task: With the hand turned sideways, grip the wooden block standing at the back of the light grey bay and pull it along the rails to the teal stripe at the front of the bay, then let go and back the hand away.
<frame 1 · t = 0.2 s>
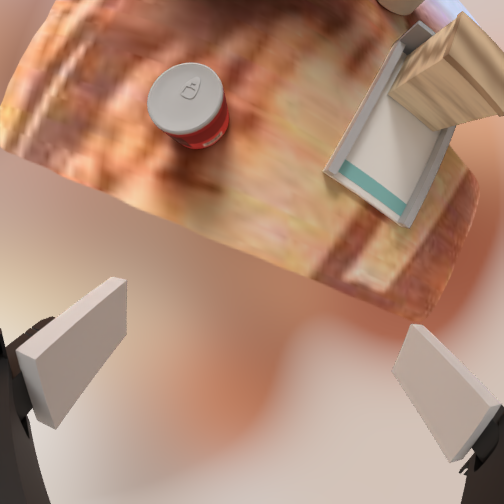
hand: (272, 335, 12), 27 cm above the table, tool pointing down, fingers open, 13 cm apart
travel mug: (392, 0, 32), on the table
bay: (401, 126, 36), on the table
canned food: (200, 122, 36), on the table
wooden block: (449, 77, 26), point 9 cm above the table, slide at 0.0 cm
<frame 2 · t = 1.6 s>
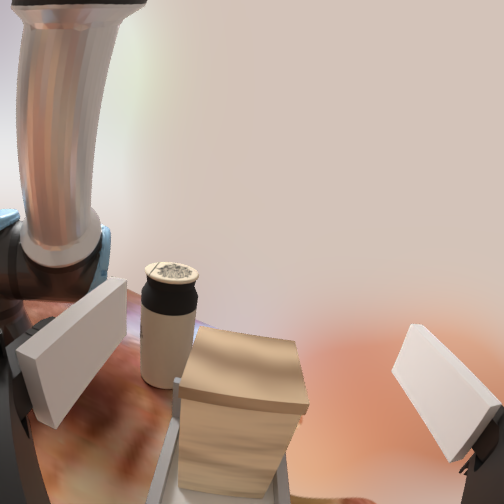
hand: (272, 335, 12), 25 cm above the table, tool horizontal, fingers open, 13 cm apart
travel mug: (164, 375, 43), on the table
wooden block: (232, 423, 25), point 9 cm above the table, slide at 0.0 cm
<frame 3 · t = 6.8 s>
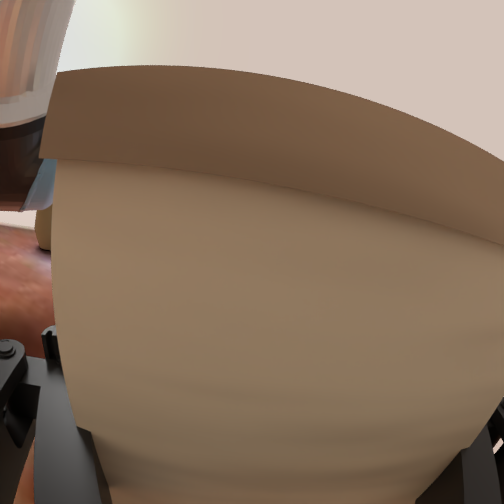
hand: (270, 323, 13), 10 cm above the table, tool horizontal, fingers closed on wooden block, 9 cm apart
squeeze bottle: (53, 248, 47), on the table
wooden block: (272, 400, 9), point 9 cm above the table, slide at 0.0 cm, touching gripper
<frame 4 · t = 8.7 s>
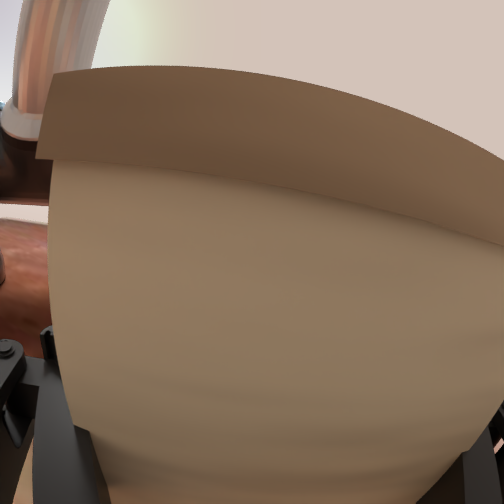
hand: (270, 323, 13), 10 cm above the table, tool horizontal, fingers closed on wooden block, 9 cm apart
wooden block: (271, 401, 9), point 9 cm above the table, slide at 6.4 cm, touching gripper
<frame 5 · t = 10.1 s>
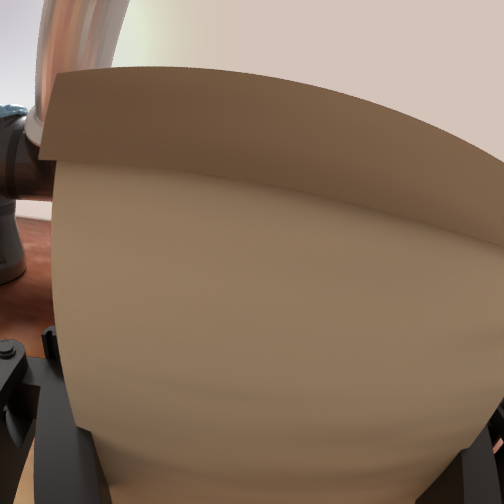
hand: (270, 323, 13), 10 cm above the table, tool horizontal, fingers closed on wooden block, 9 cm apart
wooden block: (272, 401, 9), point 9 cm above the table, slide at 12.0 cm, touching gripper
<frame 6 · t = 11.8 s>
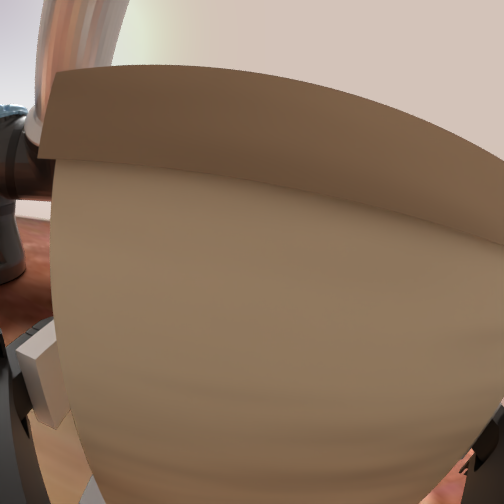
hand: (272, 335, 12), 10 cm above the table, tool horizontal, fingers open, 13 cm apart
bay: (238, 448, 16), on the table
wooden block: (272, 400, 9), point 9 cm above the table, slide at 12.0 cm
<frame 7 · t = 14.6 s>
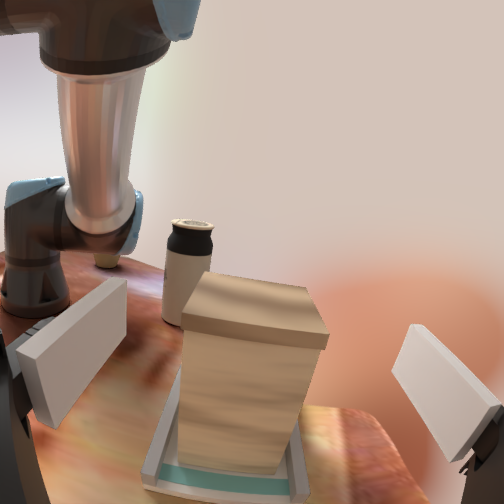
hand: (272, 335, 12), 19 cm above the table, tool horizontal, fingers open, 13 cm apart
travel mug: (182, 319, 54), on the table
bay: (230, 414, 31), on the table
squeeze bottle: (106, 266, 74), on the table
wooden block: (240, 381, 24), point 9 cm above the table, slide at 12.0 cm
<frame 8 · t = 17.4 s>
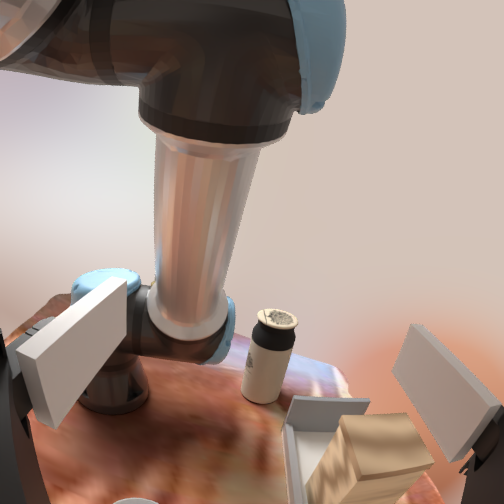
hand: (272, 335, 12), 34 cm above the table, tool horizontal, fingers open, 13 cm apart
travel mug: (259, 393, 56), on the table
bay: (329, 485, 34), on the table
wooden block: (360, 478, 27), point 9 cm above the table, slide at 12.0 cm
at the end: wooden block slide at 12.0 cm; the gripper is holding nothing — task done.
